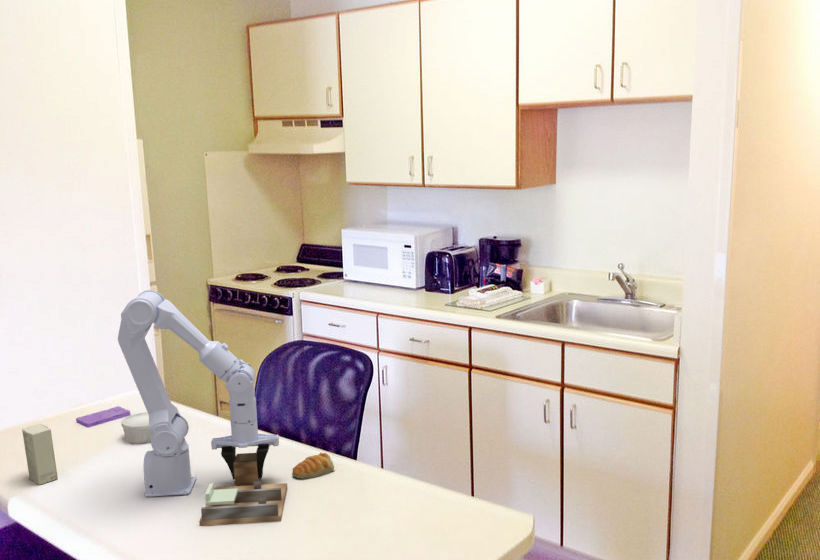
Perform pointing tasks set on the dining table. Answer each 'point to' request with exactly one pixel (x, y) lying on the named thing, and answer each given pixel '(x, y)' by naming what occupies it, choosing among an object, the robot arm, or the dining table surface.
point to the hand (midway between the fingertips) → (247, 477)
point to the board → (248, 505)
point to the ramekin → (137, 428)
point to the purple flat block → (103, 416)
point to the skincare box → (40, 454)
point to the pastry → (313, 466)
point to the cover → (220, 495)
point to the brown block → (245, 469)
